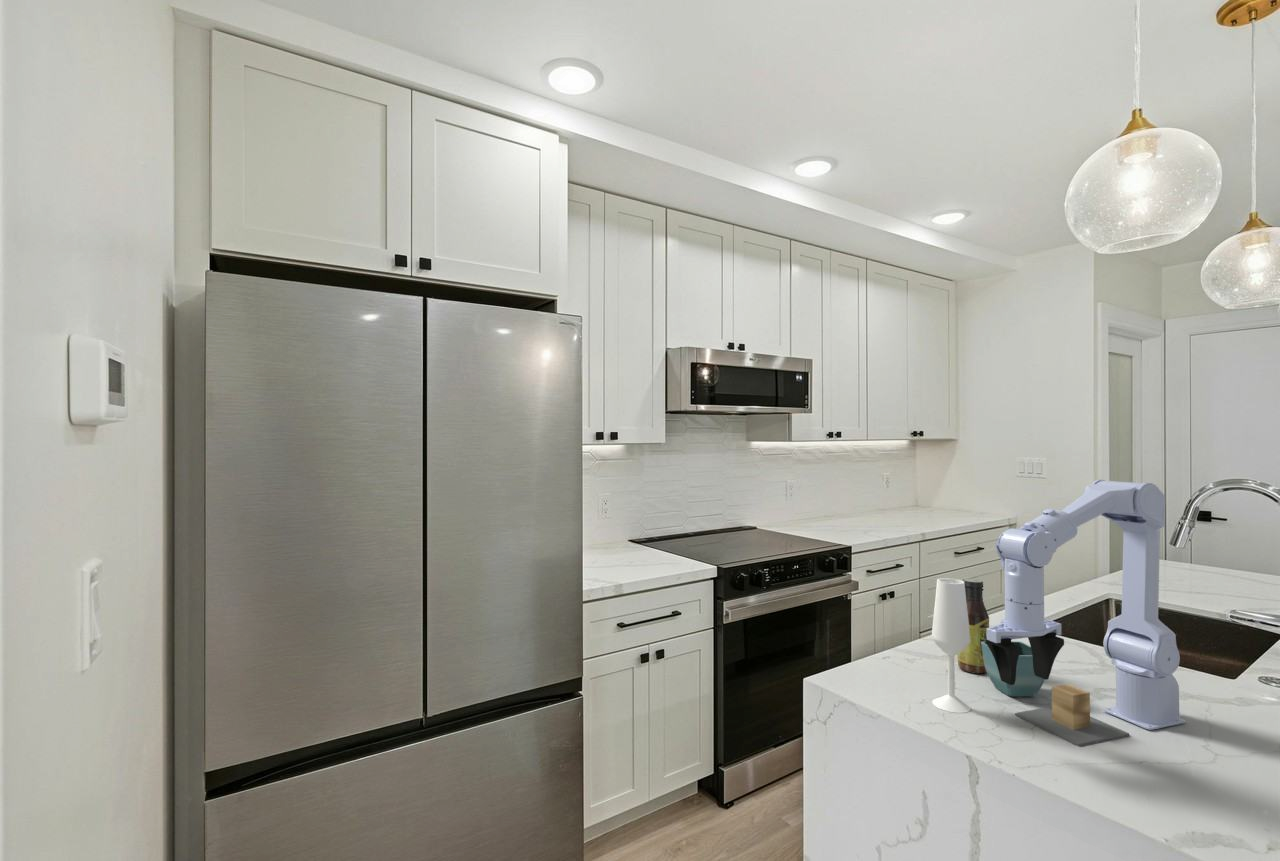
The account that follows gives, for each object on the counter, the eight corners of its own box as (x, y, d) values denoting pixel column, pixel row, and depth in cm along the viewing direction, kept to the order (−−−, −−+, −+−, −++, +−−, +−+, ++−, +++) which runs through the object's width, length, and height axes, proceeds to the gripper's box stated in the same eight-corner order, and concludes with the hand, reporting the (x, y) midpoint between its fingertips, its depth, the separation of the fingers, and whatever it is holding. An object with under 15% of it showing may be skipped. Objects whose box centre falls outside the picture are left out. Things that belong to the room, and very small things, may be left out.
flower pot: (1021, 683, 128) (1020, 640, 129) (1050, 701, 120) (1050, 655, 120) (980, 683, 128) (979, 641, 128) (1006, 701, 119) (1006, 656, 119)
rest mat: (1062, 706, 117) (1062, 704, 117) (1129, 735, 106) (1129, 733, 106) (1015, 715, 114) (1015, 712, 114) (1078, 746, 102) (1078, 743, 102)
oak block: (1068, 716, 112) (1068, 684, 112) (1090, 726, 108) (1089, 692, 108) (1051, 719, 111) (1051, 686, 111) (1073, 729, 107) (1073, 695, 107)
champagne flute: (932, 695, 122) (932, 575, 123) (970, 702, 119) (970, 579, 120) (931, 708, 117) (930, 582, 117) (971, 715, 113) (970, 586, 114)
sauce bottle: (987, 677, 131) (986, 585, 132) (955, 670, 135) (954, 581, 135) (991, 668, 137) (990, 579, 137) (960, 662, 140) (960, 575, 141)
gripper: (1034, 591, 110) (1035, 666, 110) (971, 597, 106) (972, 676, 106) (1073, 601, 103) (1073, 681, 103) (1007, 608, 99) (1007, 692, 99)
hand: (1024, 680), depth 104 cm, fingers open, 7 cm apart
